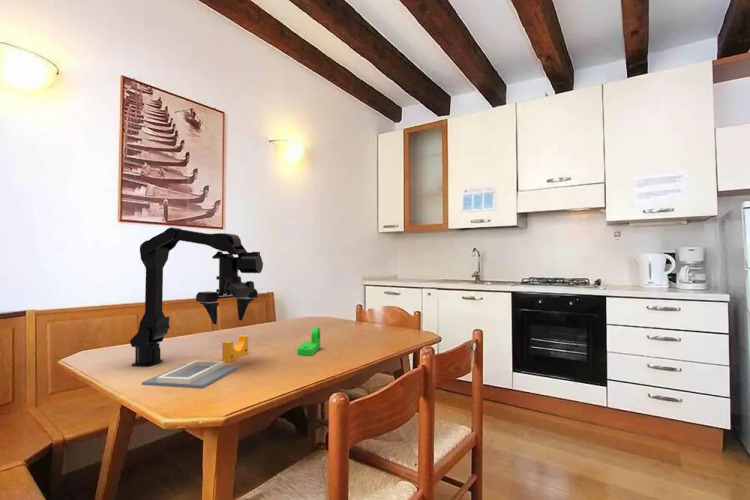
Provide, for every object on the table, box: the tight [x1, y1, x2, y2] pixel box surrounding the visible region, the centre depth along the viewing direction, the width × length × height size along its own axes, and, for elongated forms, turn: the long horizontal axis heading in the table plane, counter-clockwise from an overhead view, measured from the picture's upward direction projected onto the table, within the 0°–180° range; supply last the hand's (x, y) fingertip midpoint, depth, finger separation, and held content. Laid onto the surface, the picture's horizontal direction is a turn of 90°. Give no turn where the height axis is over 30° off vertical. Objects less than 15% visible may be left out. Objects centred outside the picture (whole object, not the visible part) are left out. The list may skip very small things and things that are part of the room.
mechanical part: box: [297, 327, 321, 356], centre depth 143 cm, size 12×6×8 cm, turn 174°
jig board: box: [141, 359, 239, 389], centre depth 112 cm, size 18×18×2 cm
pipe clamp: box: [221, 334, 249, 363], centre depth 134 cm, size 12×4×6 cm, turn 169°
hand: (228, 322), depth 123 cm, fingers open, 9 cm apart
